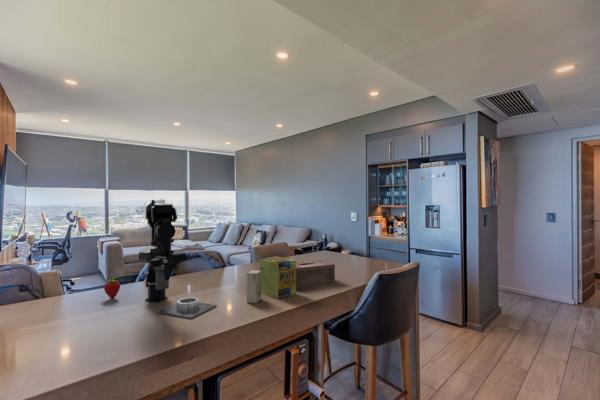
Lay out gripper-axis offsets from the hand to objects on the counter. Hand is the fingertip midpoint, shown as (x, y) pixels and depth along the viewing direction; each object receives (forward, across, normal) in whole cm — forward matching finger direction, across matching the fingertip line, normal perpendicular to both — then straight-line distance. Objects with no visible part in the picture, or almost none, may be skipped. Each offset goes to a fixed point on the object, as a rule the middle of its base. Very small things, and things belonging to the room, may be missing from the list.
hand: (162, 279), depth 108 cm
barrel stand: (+13, +5, +8) cm, 16 cm away
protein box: (+13, +26, +42) cm, 51 cm away
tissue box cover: (+13, +31, +64) cm, 72 cm away
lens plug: (+3, 0, 0) cm, 3 cm away
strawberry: (+13, -35, +5) cm, 38 cm away
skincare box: (+13, +22, +27) cm, 38 cm away
